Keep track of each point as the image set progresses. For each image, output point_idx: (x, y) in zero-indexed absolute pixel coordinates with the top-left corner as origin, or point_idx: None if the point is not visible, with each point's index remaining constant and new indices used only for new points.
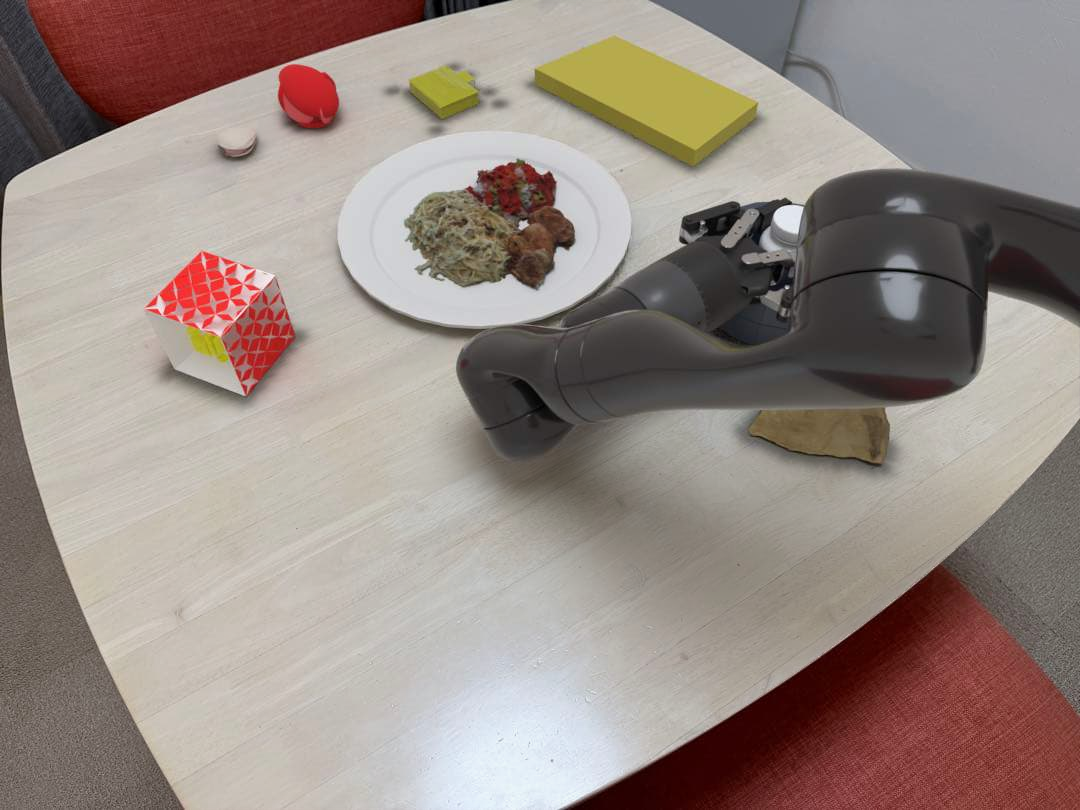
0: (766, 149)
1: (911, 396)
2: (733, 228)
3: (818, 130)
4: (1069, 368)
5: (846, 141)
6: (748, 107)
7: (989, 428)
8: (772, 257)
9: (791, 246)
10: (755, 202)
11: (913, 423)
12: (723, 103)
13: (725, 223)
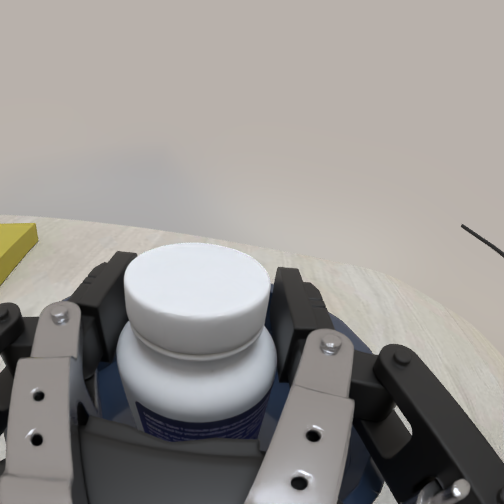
0: (56, 257)
1: None
2: (16, 415)
3: (93, 231)
4: (430, 298)
5: (120, 230)
6: (28, 228)
7: (486, 371)
8: (315, 465)
9: (236, 355)
10: (62, 300)
11: (483, 424)
12: (6, 233)
13: (13, 377)
